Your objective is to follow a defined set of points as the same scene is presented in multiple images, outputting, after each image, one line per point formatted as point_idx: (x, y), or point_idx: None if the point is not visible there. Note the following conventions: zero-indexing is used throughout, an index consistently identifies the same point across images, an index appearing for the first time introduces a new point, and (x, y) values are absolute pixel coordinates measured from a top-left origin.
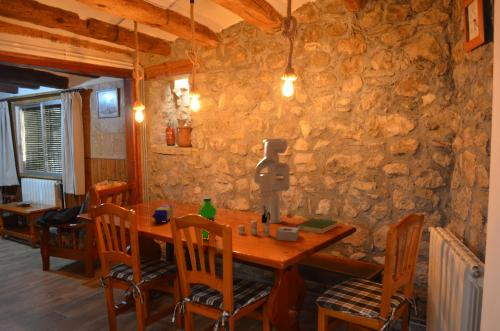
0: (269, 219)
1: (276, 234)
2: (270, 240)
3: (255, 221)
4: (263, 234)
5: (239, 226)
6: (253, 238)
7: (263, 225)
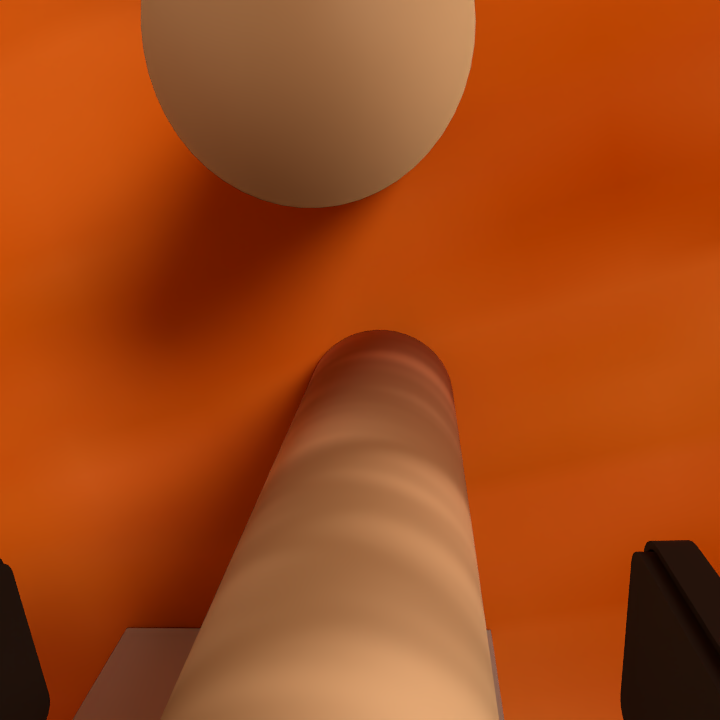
0: (630, 710)
1: (83, 717)
2: (45, 556)
3: (416, 94)
4: (328, 356)
5: None
6: (19, 208)
7: (277, 465)
